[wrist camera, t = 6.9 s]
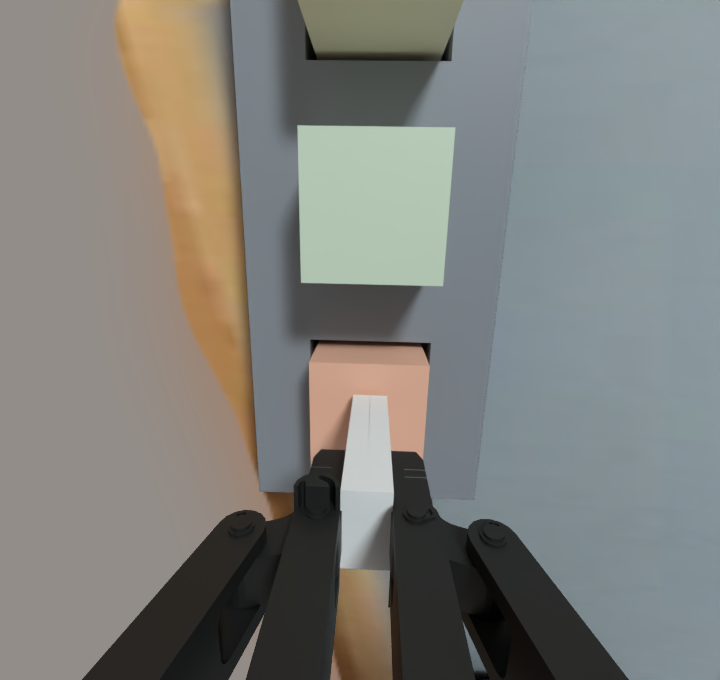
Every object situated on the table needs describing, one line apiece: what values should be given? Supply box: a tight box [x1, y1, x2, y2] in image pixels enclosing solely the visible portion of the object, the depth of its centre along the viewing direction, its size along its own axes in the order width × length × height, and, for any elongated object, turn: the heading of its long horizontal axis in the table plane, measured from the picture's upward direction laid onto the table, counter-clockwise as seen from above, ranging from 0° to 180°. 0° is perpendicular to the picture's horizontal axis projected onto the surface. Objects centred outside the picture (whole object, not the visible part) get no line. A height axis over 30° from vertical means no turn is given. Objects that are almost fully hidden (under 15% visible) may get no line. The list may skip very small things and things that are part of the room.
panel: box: [230, 0, 533, 500], centre depth 20 cm, size 30×12×5 cm, turn 179°
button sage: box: [297, 125, 455, 286], centre depth 17 cm, size 5×5×6 cm
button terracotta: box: [309, 340, 430, 465], centre depth 21 cm, size 5×5×6 cm
